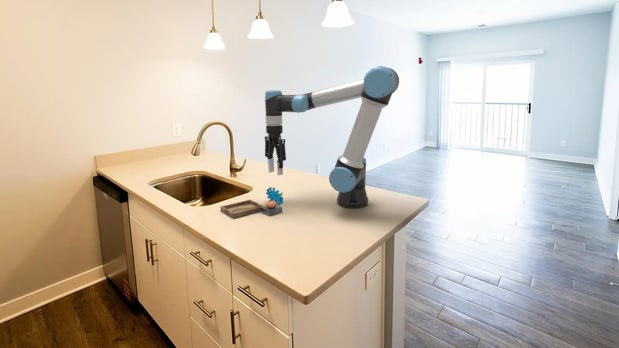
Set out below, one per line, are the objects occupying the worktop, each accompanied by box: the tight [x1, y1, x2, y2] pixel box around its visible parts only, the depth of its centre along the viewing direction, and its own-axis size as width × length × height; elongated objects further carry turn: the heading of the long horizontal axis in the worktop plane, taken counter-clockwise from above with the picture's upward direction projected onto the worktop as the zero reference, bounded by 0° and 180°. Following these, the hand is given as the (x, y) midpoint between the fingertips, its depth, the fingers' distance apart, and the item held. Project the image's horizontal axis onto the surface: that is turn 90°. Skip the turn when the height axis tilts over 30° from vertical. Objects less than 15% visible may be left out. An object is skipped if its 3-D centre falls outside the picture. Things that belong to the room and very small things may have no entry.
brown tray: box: [219, 199, 264, 220], centre depth 159 cm, size 13×16×2 cm
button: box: [265, 200, 277, 209], centre depth 156 cm, size 4×4×3 cm
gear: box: [265, 186, 284, 206], centre depth 170 cm, size 11×6×10 cm
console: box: [260, 204, 283, 217], centre depth 157 cm, size 7×7×2 cm
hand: (275, 173), depth 166 cm, fingers open, 7 cm apart
